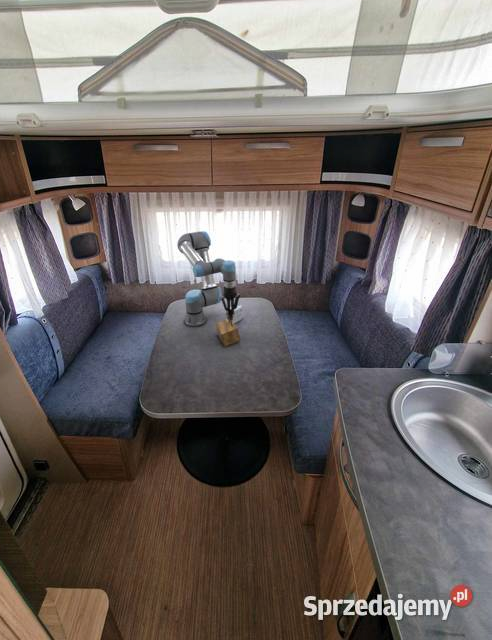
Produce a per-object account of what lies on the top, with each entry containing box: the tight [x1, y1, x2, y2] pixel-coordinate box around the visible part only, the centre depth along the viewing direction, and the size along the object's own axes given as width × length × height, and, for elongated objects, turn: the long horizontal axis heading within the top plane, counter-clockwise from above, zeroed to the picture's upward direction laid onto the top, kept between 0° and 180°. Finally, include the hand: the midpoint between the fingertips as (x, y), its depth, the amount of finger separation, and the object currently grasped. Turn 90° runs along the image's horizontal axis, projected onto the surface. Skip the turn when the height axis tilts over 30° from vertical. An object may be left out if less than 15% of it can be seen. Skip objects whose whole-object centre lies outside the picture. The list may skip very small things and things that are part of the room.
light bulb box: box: [225, 304, 243, 324], centre depth 206 cm, size 11×7×11 cm, turn 134°
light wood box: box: [214, 312, 241, 348], centre depth 183 cm, size 11×13×17 cm
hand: (231, 318), depth 182 cm, fingers closed
